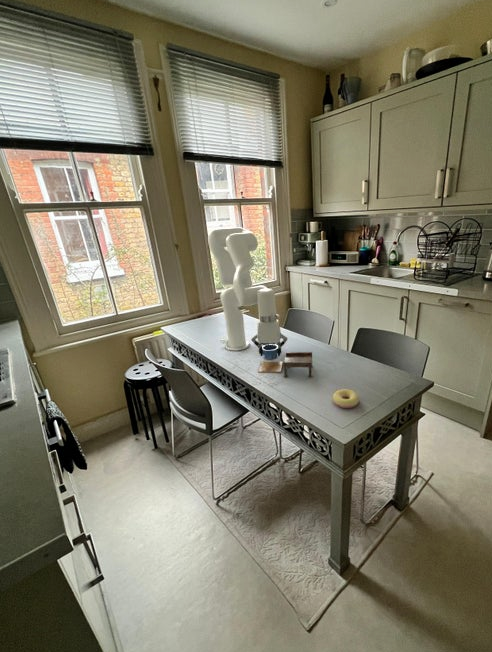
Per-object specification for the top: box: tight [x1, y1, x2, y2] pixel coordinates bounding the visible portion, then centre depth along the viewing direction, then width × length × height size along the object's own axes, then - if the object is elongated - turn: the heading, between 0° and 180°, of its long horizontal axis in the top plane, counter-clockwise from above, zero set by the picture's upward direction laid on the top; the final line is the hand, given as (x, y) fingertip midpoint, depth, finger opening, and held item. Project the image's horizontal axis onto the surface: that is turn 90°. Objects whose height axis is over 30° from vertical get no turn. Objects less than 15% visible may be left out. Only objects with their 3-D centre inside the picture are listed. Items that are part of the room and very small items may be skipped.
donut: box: [332, 388, 360, 409], centre depth 117 cm, size 10×5×9 cm
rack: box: [282, 351, 313, 379], centre depth 140 cm, size 12×11×7 cm
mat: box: [258, 361, 284, 374], centre depth 147 cm, size 10×10×1 cm
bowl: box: [262, 344, 279, 361], centre depth 143 cm, size 7×7×5 cm
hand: (270, 354), depth 144 cm, fingers closed on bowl, 7 cm apart
